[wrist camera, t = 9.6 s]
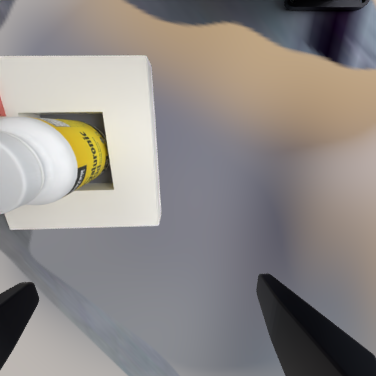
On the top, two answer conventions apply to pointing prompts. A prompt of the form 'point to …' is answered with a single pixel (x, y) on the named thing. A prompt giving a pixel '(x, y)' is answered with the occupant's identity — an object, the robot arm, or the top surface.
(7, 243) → the top surface
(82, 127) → the supplement bottle
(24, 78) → the socket plate
